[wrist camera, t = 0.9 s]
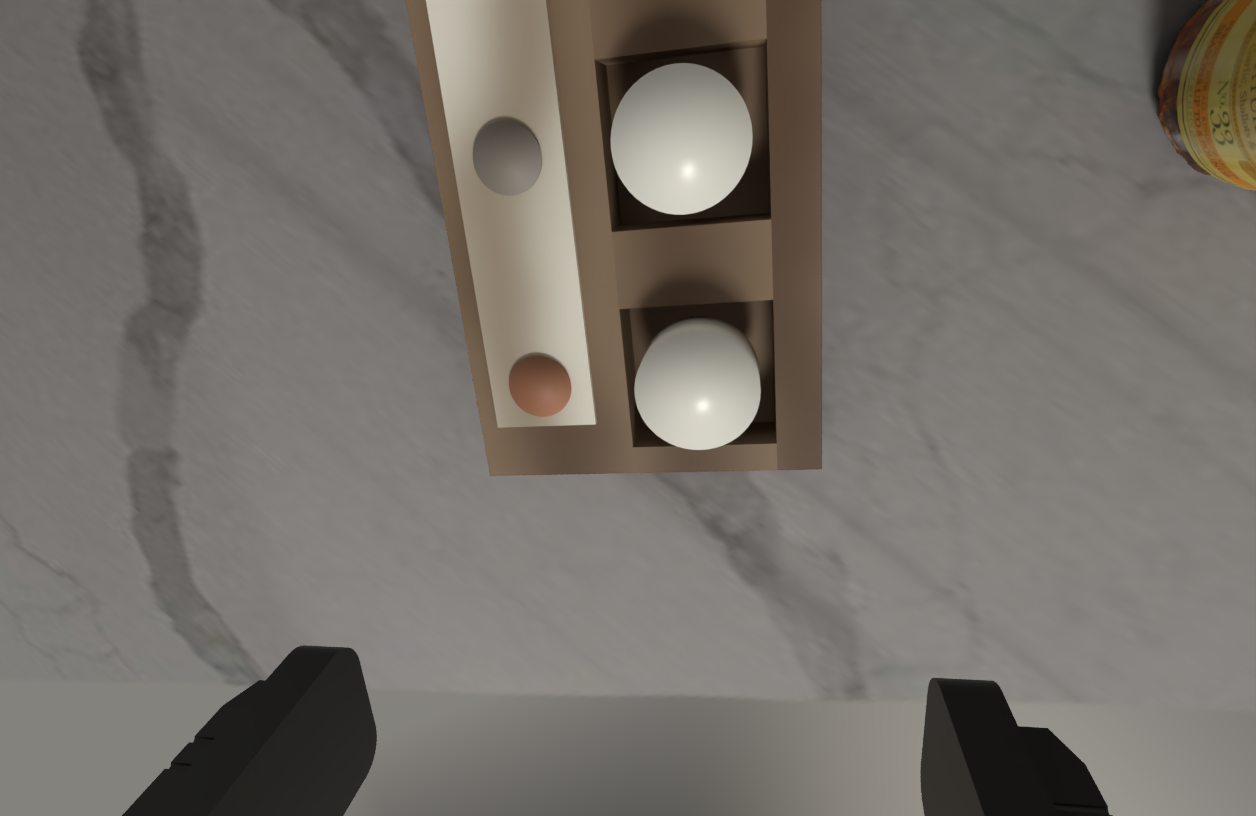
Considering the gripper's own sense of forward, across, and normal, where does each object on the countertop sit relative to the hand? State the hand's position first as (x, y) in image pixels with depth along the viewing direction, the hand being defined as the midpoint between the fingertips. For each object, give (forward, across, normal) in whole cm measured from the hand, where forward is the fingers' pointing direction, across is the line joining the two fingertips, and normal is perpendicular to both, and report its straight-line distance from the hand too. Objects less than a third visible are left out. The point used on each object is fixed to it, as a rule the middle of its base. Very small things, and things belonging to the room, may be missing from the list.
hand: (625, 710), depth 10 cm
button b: (+16, 0, -7) cm, 17 cm away
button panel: (+18, +2, -7) cm, 20 cm away
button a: (+16, 0, 0) cm, 16 cm away
